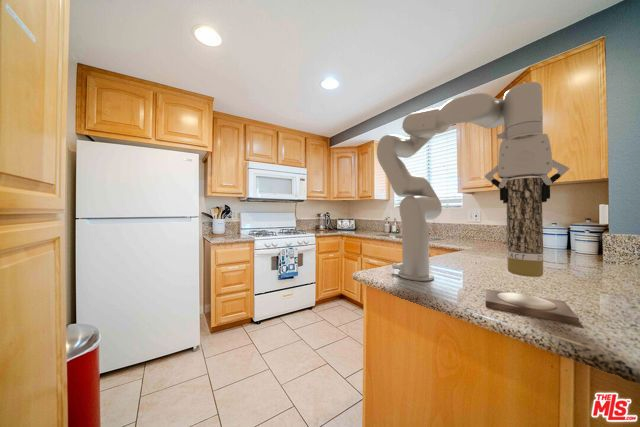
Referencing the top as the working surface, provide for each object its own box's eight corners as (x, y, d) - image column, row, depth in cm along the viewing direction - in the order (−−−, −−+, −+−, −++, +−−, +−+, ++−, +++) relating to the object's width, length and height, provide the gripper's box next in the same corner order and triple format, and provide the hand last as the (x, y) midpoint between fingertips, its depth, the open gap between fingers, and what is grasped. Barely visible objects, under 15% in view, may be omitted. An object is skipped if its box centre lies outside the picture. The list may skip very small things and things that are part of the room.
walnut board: (485, 306, 57) (485, 299, 57) (486, 293, 66) (486, 287, 67) (579, 325, 47) (578, 316, 47) (564, 307, 57) (564, 300, 57)
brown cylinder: (527, 271, 60) (526, 179, 60) (551, 278, 53) (549, 175, 54) (501, 270, 61) (499, 180, 61) (521, 277, 54) (519, 175, 54)
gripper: (480, 137, 60) (481, 203, 60) (576, 120, 49) (578, 200, 49) (481, 144, 66) (482, 204, 66) (567, 130, 55) (569, 202, 55)
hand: (523, 202), depth 57 cm, fingers closed on brown cylinder, 6 cm apart
